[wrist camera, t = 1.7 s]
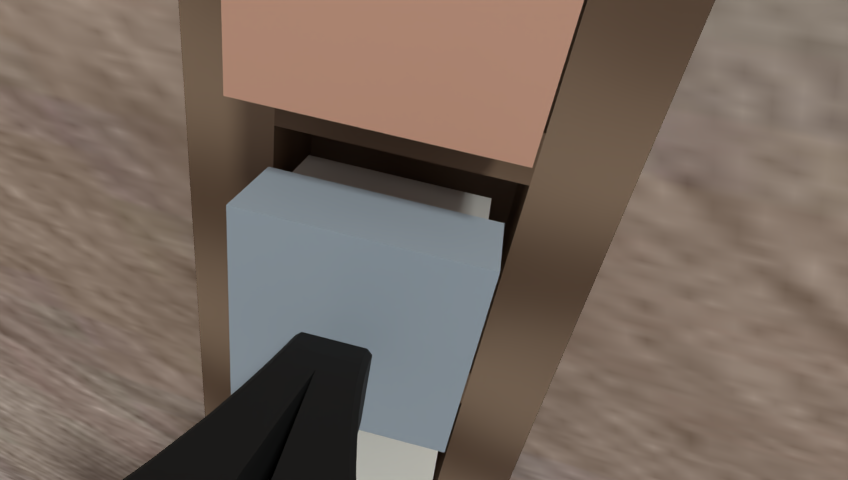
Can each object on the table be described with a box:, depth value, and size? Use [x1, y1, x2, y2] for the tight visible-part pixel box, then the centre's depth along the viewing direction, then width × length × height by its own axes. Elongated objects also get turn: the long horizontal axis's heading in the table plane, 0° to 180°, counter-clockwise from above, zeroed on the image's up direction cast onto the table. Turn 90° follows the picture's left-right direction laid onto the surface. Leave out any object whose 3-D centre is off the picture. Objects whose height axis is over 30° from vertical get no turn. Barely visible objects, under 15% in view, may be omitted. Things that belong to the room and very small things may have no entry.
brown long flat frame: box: [179, 0, 715, 480], centre depth 15 cm, size 23×10×3 cm, turn 170°
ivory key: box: [356, 430, 438, 480], centre depth 16 cm, size 5×5×3 cm
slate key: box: [226, 155, 505, 452], centre depth 12 cm, size 5×5×3 cm
